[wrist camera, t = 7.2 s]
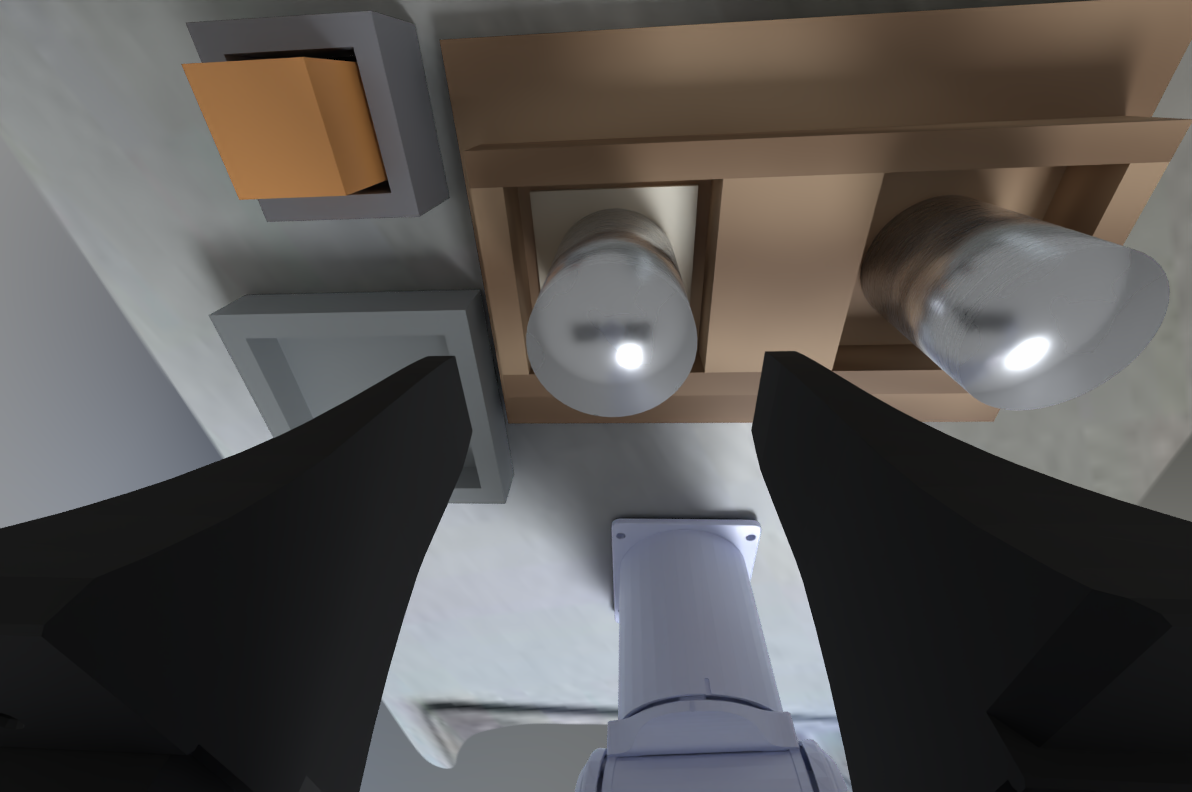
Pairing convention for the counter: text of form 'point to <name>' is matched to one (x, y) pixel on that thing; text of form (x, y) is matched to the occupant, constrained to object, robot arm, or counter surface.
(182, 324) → the counter surface
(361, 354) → the shallow grey tray
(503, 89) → the wooden compartment tray
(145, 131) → the counter surface
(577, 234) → the billet
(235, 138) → the button
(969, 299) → the cylinder
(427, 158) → the button housing
